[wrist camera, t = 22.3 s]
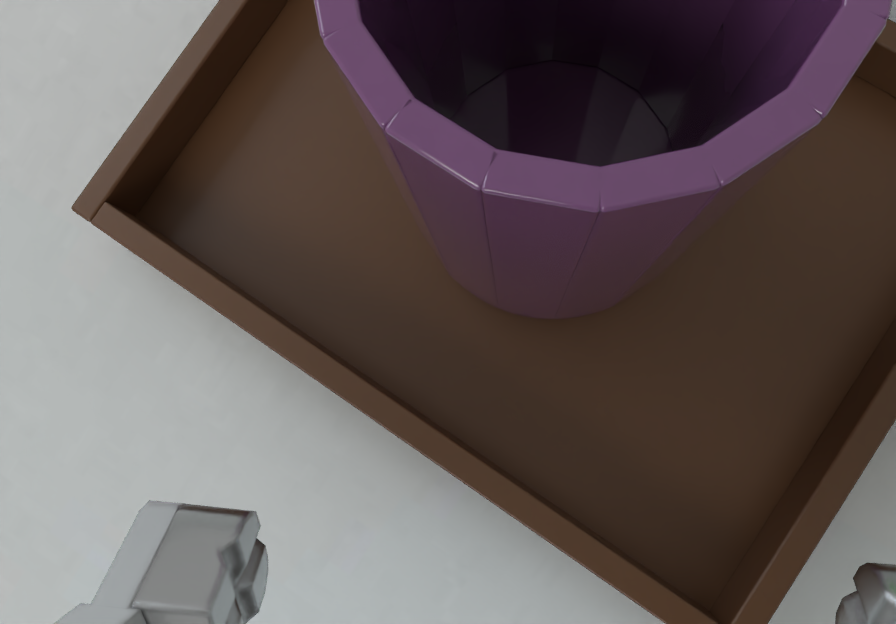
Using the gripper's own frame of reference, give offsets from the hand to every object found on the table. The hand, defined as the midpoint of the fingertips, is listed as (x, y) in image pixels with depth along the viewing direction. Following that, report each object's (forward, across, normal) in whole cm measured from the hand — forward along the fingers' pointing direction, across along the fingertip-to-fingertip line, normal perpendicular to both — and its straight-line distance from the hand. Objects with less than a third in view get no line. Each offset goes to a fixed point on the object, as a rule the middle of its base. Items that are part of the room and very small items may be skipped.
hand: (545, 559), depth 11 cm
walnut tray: (+10, 0, 0) cm, 10 cm away
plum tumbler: (+10, 0, 0) cm, 10 cm away
